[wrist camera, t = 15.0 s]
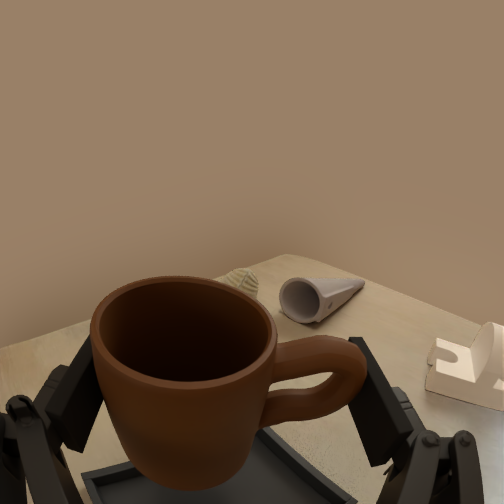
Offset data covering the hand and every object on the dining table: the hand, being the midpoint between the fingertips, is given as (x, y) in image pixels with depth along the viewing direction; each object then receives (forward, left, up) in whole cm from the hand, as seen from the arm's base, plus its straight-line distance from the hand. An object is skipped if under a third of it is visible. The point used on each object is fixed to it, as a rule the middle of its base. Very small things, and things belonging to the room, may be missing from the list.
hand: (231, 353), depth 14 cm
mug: (+1, -2, -6) cm, 7 cm away
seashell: (-14, +32, -17) cm, 39 cm away
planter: (+1, +44, -17) cm, 48 cm away
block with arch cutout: (+31, +27, -17) cm, 44 cm away
